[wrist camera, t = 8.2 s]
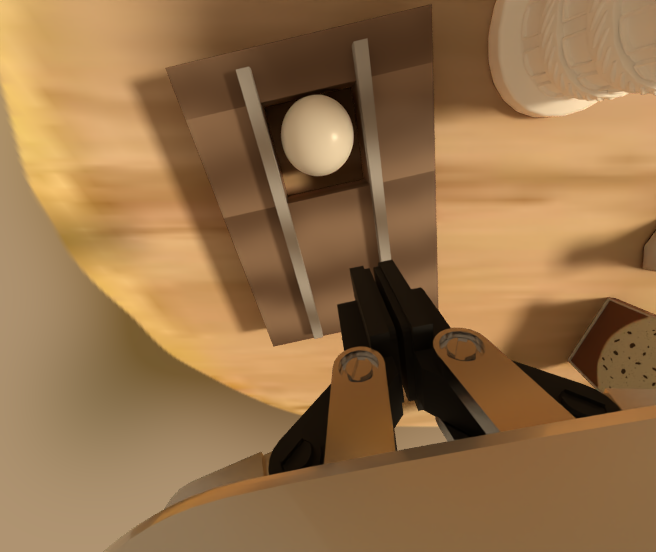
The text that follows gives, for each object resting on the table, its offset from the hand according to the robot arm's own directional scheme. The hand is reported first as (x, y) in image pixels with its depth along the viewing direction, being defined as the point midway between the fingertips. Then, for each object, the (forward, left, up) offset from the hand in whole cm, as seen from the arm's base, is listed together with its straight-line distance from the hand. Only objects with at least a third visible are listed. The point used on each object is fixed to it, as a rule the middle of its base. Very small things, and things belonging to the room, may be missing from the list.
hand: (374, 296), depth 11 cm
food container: (+22, +30, -15) cm, 40 cm away
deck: (0, 0, -15) cm, 15 cm away
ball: (-6, 0, -12) cm, 13 cm away
